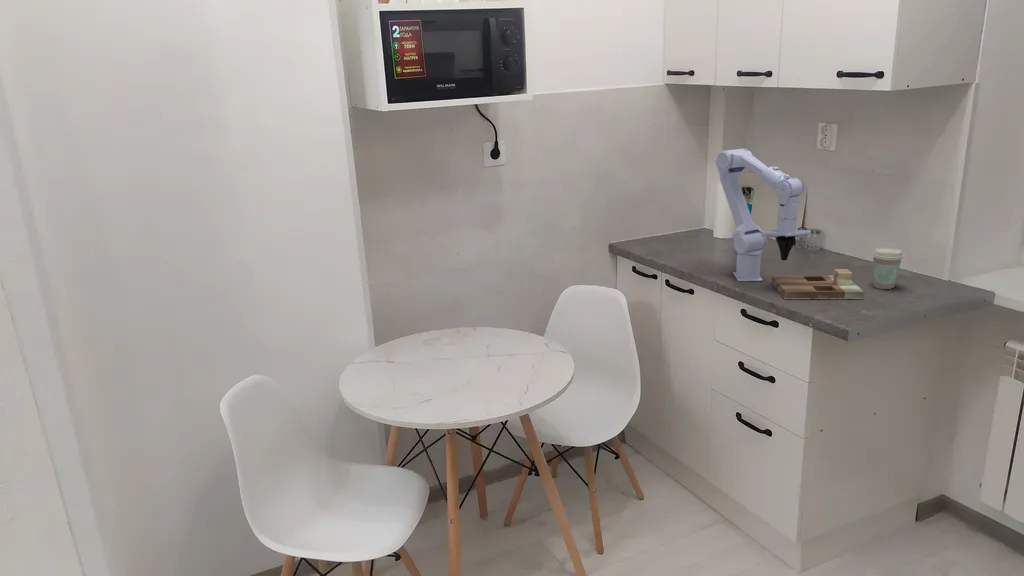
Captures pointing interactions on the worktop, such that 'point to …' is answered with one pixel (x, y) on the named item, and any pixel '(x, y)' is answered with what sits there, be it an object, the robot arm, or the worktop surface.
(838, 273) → the beech block
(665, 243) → the worktop surface
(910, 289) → the worktop surface
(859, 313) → the worktop surface
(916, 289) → the worktop surface
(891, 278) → the coffee cup
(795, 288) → the board
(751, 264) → the robot arm
